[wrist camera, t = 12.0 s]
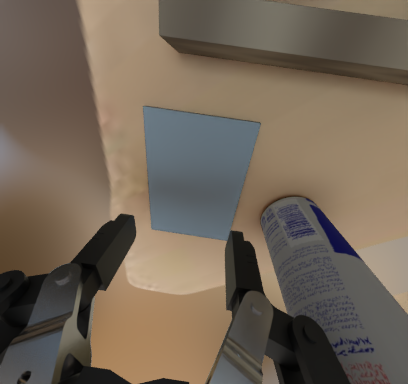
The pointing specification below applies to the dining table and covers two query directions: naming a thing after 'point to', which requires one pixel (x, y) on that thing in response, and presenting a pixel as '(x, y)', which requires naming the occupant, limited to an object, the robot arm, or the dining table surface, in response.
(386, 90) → the dining table surface
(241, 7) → the wooden tray
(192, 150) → the mat
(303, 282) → the beverage can
